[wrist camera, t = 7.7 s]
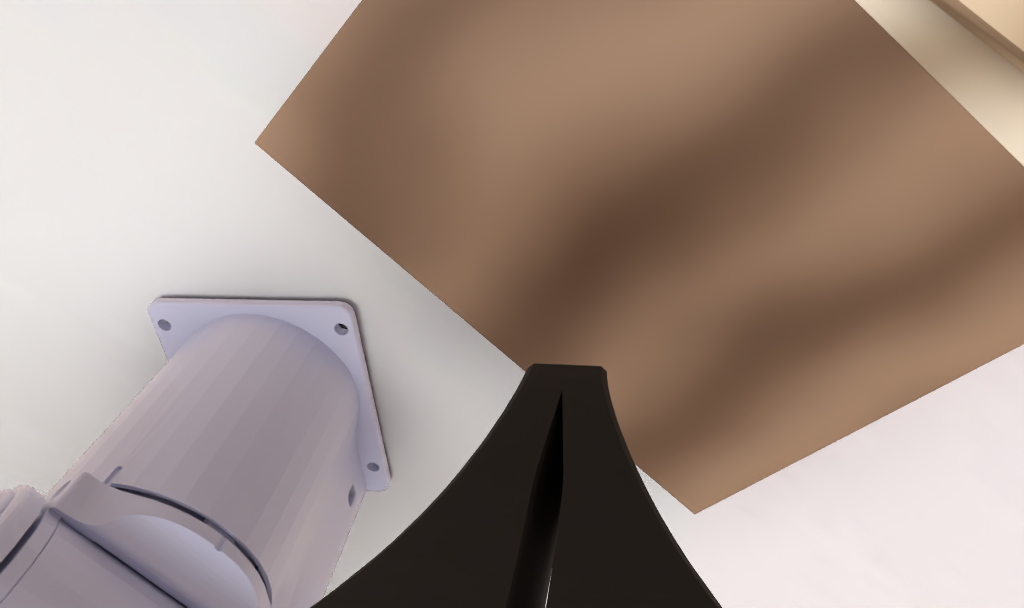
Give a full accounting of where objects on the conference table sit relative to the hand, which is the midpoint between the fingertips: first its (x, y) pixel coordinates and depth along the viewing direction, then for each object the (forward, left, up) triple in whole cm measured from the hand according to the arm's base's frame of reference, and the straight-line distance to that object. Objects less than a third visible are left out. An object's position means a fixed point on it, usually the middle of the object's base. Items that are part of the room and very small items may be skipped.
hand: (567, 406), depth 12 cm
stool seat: (+2, -5, -10) cm, 12 cm away
